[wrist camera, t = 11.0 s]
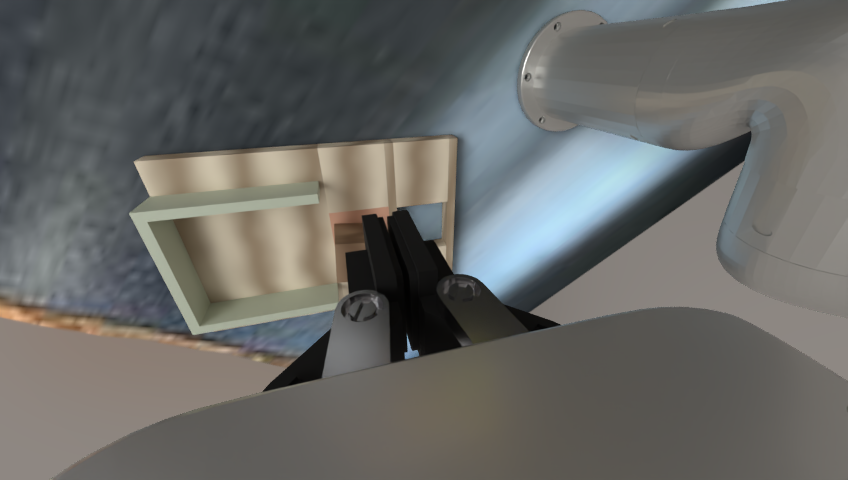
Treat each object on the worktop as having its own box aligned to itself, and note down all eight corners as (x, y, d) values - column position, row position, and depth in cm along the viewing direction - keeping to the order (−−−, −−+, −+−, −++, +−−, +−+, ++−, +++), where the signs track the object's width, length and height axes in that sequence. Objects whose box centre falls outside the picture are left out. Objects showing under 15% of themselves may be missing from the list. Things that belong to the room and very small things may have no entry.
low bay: (318, 180, 35) (317, 194, 32) (338, 288, 42) (339, 308, 39) (150, 196, 31) (128, 213, 28) (204, 310, 39) (192, 334, 36)
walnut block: (376, 222, 39) (382, 242, 35) (375, 256, 41) (381, 279, 37) (334, 223, 38) (334, 244, 34) (335, 259, 40) (336, 282, 36)
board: (451, 134, 38) (457, 138, 37) (447, 281, 49) (451, 289, 48) (143, 156, 31) (133, 161, 30) (218, 320, 42) (214, 331, 41)
